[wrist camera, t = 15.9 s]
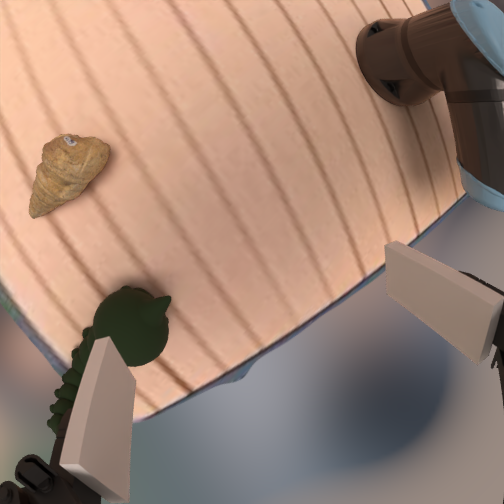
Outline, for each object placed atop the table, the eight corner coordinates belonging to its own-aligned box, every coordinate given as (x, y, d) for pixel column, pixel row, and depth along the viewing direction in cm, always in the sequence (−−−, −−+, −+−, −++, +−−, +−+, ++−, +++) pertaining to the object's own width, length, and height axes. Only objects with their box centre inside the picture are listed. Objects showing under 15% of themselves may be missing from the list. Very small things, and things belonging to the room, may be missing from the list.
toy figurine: (104, 375, 43) (201, 287, 40) (81, 466, 26) (205, 394, 22) (60, 342, 40) (149, 240, 36) (20, 430, 22) (111, 330, 19)
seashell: (64, 235, 34) (39, 254, 26) (24, 199, 31) (-6, 210, 23) (123, 152, 33) (108, 151, 25) (81, 114, 30) (57, 105, 22)
